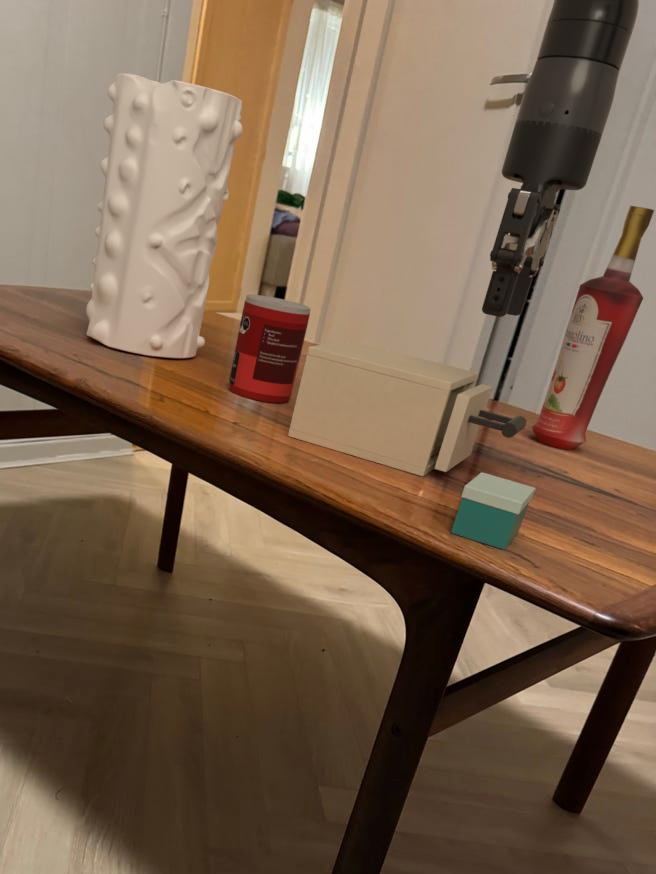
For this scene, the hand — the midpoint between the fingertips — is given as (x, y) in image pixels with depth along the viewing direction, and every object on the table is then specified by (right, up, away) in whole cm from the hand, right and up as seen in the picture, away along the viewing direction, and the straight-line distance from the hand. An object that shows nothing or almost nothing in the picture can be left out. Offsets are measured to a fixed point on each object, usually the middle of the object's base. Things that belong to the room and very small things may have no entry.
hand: (501, 314), depth 88 cm
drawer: (-6, -12, +6) cm, 15 cm away
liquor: (+18, -6, +30) cm, 35 cm away
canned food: (-21, -2, +24) cm, 32 cm away
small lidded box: (-6, -23, -13) cm, 27 cm away
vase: (-36, +10, +40) cm, 55 cm away
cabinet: (-11, -11, +9) cm, 18 cm away
